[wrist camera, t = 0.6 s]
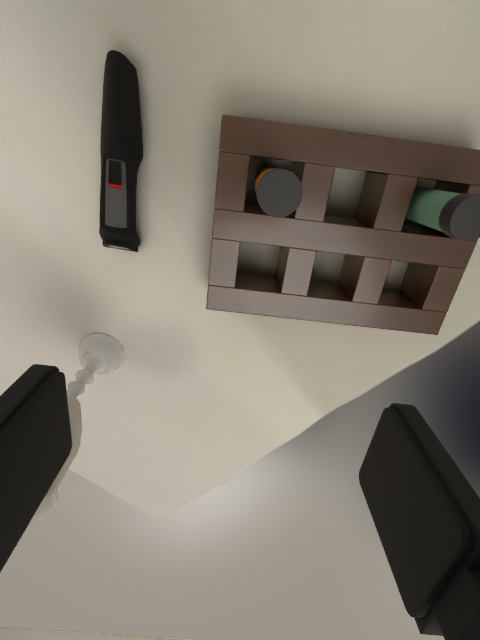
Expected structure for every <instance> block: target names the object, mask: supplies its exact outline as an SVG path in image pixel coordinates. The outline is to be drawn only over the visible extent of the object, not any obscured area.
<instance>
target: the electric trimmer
mask: <svg viewBox="0 0 480 640" xmlns="http://www.w3.org/2000/svg"><path fill="white" fill-rule="evenodd" d="M142 158H143V144H142V129H141V115H140V101H139V86H138V77H137V71H136V68H135V67H134V65H133V64H132V63H131V62H130V61H129V60H128V59H127V58H126V56H125V55H123V54H122V53H120V52H118V51H115V50H112V51H109V52H108V54H107V57H106V62H105V72H104V84H103V104H102V125H101V193H100V230H99V233H100V236H101V238H102V240H103V246H105V247H110V248H116V249H123V250H129V251H135V252H138V246H139V245H141V244H140V239H139V237H138V235H137V232H136V183H137V171H138V168H139V165H140V163H141V161H142Z"/></svg>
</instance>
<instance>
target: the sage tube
mask: <svg viewBox="0 0 480 640" xmlns="http://www.w3.org/2000/svg"><path fill="white" fill-rule="evenodd" d="M405 218H406V219H408V220H411V221H414V222H417V223H419V224H422V225H425V226H428V227H430V228H433V229H436V230H439V231H441V232H443V233H445V234H446V235H448V236H451V237H453V238H456V239H459V240H462V241H471V240H475V239H477V238H479V237H480V195H477V194H470V193H463V194H460V193H453V192H447V191H441V190H434V189H428V188H422V187H415V189H414V192H413V195H412V199H411V202H410V205H409V208H408V211H407V214H406V217H405Z"/></svg>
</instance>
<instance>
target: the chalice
mask: <svg viewBox="0 0 480 640" xmlns="http://www.w3.org/2000/svg"><path fill="white" fill-rule="evenodd" d="M123 359H124V351H123V349H122V346H121V345H120V344H119V342H118V341H117V340H115V339H114V338H112V337H111V336H108V335H105V334H99V333H96V334H91V335H89V336H87V337H85V338H84V339H83V341H82V342H81V345H80V356H79V360H80V363H81V365H82V367H83V368H84V370H79V371H77V372H76V375H75V376H76V381H74V382H70V383H69V384H68V391H67V400H68V409H69V417H70V426H71V435H72V449H71V452H70V455H69V457H68V458H67V460H66V462H65V463H64V465H63V467H62V468H61V470H60V472H59V474H58V475H57V477H56V479H55V480H54V482H53V484H52V485H51V487H50V489H49V491H48V492H47V494H46V496H45V497H44V499H43V501H42V502H41V504H40V506H39V508H38V509H37V511H36V513H35V514H34V516H33V518H32V519H31V521H35V520H38V519H41V518H44V517H46V516H47V515H48V514H49V513H51V512H52V511H53V510H54V509H55V505H56V503H57V488H58V486H59V484H60V482H61V481H62V479H63V477H64V475H65V473H66V472H67V470H68V468H69V466H70V465H71V463H72V461H73V459H74V457H75V456H76V454H77V452H78V449H79V446H80V441H81V432H82V420H81V407H80V403H79V401H78V400H77V399H76V397H77V396H78V395H80V394H83V393H84V391H85V388H84V386H85V384H89V383H91V382H92V381H93V375H92V374H99V375H100V374H105V373H107V372H109V371H111V370H114V369H116V368H117V367H119V366H120V365H121V364H122V362H123Z"/></svg>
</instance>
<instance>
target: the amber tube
mask: <svg viewBox="0 0 480 640" xmlns="http://www.w3.org/2000/svg"><path fill="white" fill-rule="evenodd" d="M254 189H255V192H256V197H257V200H258V203H259V205H260V207H261V209H262V210H263V211H264V212H265V213H266V214H268V215H270V216H272V217H285V216H288V215H290V214H291V213H293V212H294V211H295V210H296V209H297V208H298V206H299V204H300V202H301V199H302V194H303V190H302V185H301V182H300V180H299V178H298V177H297V176H296V175H295V174H294V173H293V172H291V171H289V170H286V169H280V168H277V169H276V168H272V167H267V168H264V169H262V170H260V171H259V172H258V173H257V175H256V177H255V179H254Z"/></svg>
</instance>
